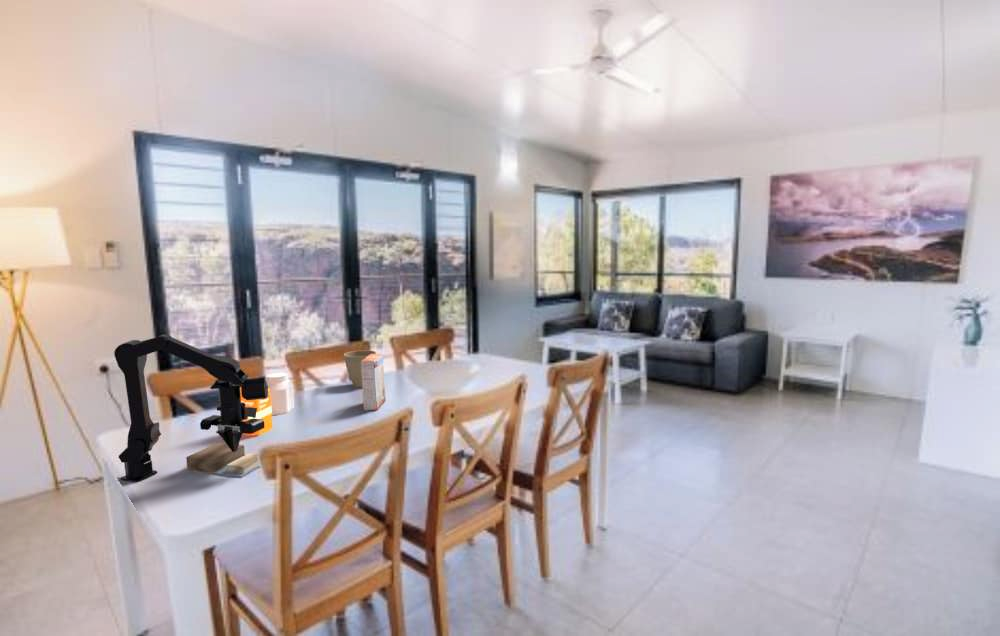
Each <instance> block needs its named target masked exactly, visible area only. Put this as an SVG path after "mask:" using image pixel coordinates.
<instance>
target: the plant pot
mask: <svg viewBox="0 0 1000 636" xmlns="http://www.w3.org/2000/svg"><path fill="white" fill-rule="evenodd" d="M370 354H377V352H376V351H374V350H370V349H369V350H366V349H365V350H364V349H363V350H353V351H347V352H345V353H344V354H343V359H344V362H345V367H346V370H347V374H348V376H349V378H350V381H351V383H352V385H353V387H354V388H359V389H360V388H362V373H361V361H362V360H363V359H365V358H366V357H367V356H369V355H370Z"/></svg>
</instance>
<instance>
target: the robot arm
mask: <svg viewBox="0 0 1000 636" xmlns="http://www.w3.org/2000/svg"><path fill="white" fill-rule="evenodd" d="M159 351H162V352H165V353H167V354H170V355H172V356H175V357H176V358H179V359H181V360H184V361H186V362H189V363H191V364H193V365H196V366H198V367H200V368H201V369H203V370H205V371H206V372H207V373H208V374H209V375H211V376H213V378H215V380H214V383H213V384H212V385H211V386H210V387H209V389H211V390H218V400H219V406H216V411H220V415H219V414H213V415H211V416H208V417H206V418H203V419H202V420H201V421H200V422H199V423H200V424H199V426H200V430H205V431H208V430H210V429H211V428H212V426H216V427H217V430H216V432H215V433H216V434H218V435H219V436H220V438H221V439H222V440H223V441H224V443H226V444H227V445H228V447H229V448H230V449H231V451H232V452H236V451H237V449H238V446H239V445H240V442H241V439H242V436H243V435H242V434H253V433H255V432H257V431H259V430H261V429H263V428H265V425H264V421H263V420H262V419H253V418H256V412H257V408H253V407H246V406H245V403H243V402H241V394H242V397H243V398H244V399H246V400H258V399H267V398H268V385H267V381H266V376H265V375H264V376H259V377H256V376H255V377H249V376H248V375H247V373H246V372H245V371H244V370H243V369H242V368H241V365H240V362H238V361H237V360H236V359H235V358H230V357H227V356H222V355H216V354H212V353H209V352H206V351H205V350H202V349H200V348H197V347H195V346H192V345H191V344H188V343H186V342H183V341H181V340H179V339H176V338H174V337H173V336H171V335H170V334H161V335H159V336H155V337H152V338H148V339H145V340H142V341H141V340H139V339H133V340H129V341H126V342H123V343H121V344H119V345H118V346H117V347H116V348H115V349H114V358H115V361H116V363H117V366H118V368H119V369H120V371H121V372H122V374H123V377H124V381H125V382H124V383H125V388H126V395H127V404H128V411H129V417H130V427H129V431H128V433H127V442H126V444H127V445H126V446H127V447H126V448H125V449H124V450H123V451H122V452H120V454H119V455H117V456H118V459H119V460H120V463H123V464H124V471H125V475H124V476H122V477H120V480H121V481H129V482H134V483H136V482H137V483H138V482H140V481H143V480H145V479H147V478H149V477H151V476H153V475H155V474H158V470H153V461H152V458H151V457H152V456H151V454H150V453H149V452H151V451H152V450H153V447H154V446H155V445H156V444H157V443H158V441H159V439H160V436H162V433H161V431H160V422H159V421H157V422H153V420H152V418H151V416H150V409H149V401H148V393H147V386H146V379H145V367H146V364H147V358H148V355H149V354H152V353H155V352H159ZM240 387H241V393H240ZM248 417H253V418H252V419H250V420H248V421H243V420H246V419H248Z"/></svg>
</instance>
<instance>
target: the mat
mask: <svg viewBox="0 0 1000 636" xmlns="http://www.w3.org/2000/svg"><path fill="white" fill-rule="evenodd" d="M260 468H261V467H260V466H259V465H258V466H256V467H255V468H253V469H251V470H249V471H247V472H246V473H237V472H229V471H227V466H225V467H223V468H222V469H220V470H218V471H216V472H214V473H212V474H213V475H218V476H225V477H234V478H244V477H245V476H247V475H250V473H253V472H254V471H256V470H257V469H260Z"/></svg>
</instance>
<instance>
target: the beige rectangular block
mask: <svg viewBox="0 0 1000 636" xmlns="http://www.w3.org/2000/svg"><path fill="white" fill-rule="evenodd" d="M258 454H259V453H250V452H249V453H246V454H245V456H243V457H241V458H239V459H237V460H235V461H233V462H231V463H229V464H227V471H229V472H237V473H246V472H247V471H249V470H251V469H253V468H255V467H256V466H258V465H259V462H258V457H257V455H258Z"/></svg>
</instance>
